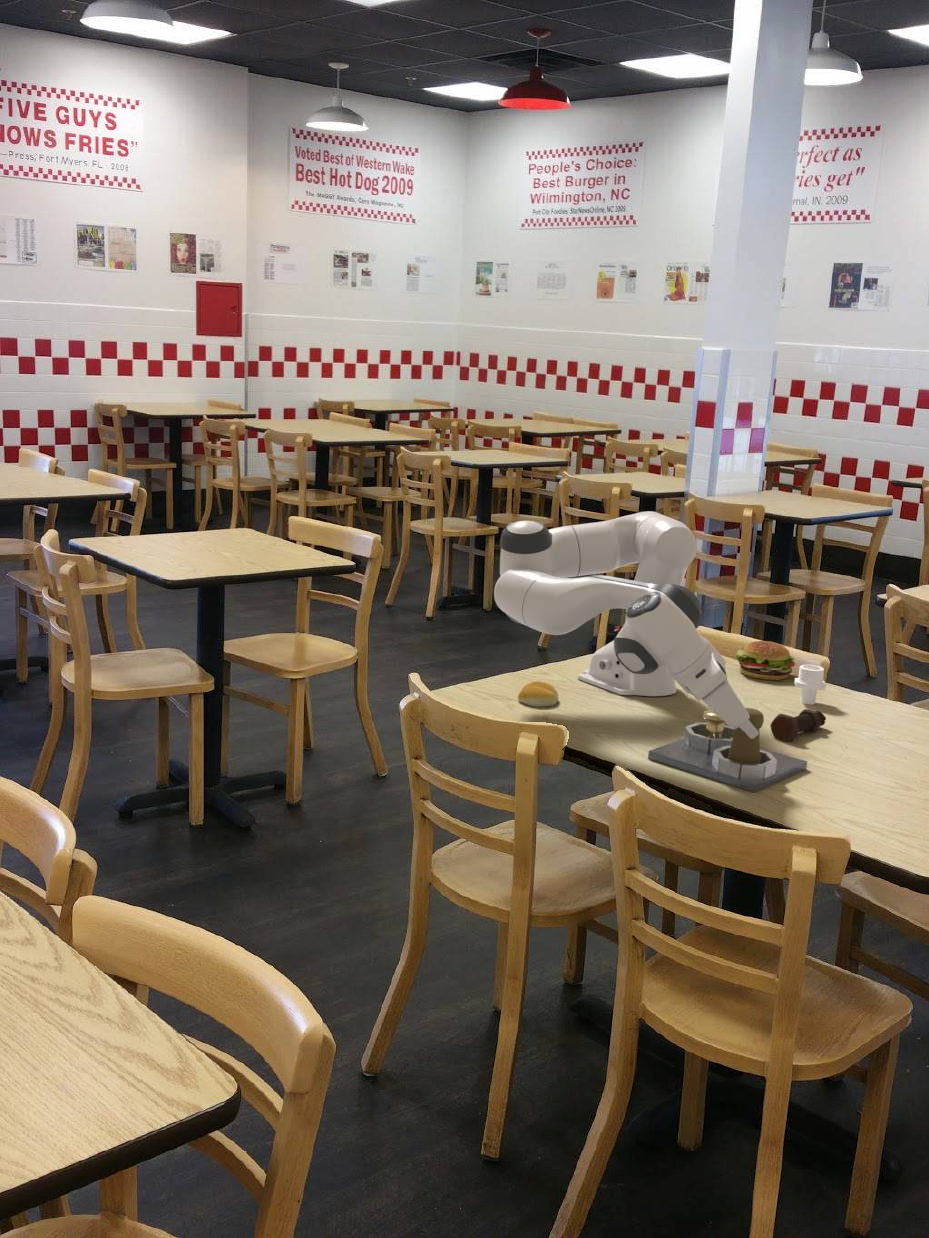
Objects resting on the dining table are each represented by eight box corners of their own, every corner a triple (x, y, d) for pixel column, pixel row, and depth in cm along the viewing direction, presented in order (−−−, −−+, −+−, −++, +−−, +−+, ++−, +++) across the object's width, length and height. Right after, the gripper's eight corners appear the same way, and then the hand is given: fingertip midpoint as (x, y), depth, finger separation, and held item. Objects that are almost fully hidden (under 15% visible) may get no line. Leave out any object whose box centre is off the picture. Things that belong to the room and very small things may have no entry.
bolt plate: (647, 758, 219) (651, 719, 217) (702, 738, 233) (706, 701, 231) (754, 792, 204) (759, 751, 203) (806, 769, 218) (811, 730, 217)
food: (747, 663, 295) (751, 632, 293) (801, 675, 286) (805, 643, 284) (721, 672, 284) (725, 640, 282) (776, 685, 276) (780, 652, 274)
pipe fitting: (830, 705, 261) (834, 670, 259) (802, 707, 258) (806, 671, 257) (812, 697, 267) (817, 663, 265) (785, 699, 264) (789, 664, 262)
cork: (740, 776, 208) (747, 716, 205) (718, 764, 213) (725, 705, 211) (767, 772, 211) (774, 713, 208) (745, 761, 216) (752, 703, 213)
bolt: (820, 736, 245) (783, 748, 234) (803, 719, 247) (765, 730, 237) (836, 716, 242) (799, 727, 231) (819, 699, 245) (781, 709, 234)
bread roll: (515, 705, 248) (516, 687, 247) (523, 694, 257) (524, 676, 256) (554, 710, 246) (555, 691, 245) (561, 698, 255) (562, 680, 254)
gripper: (678, 666, 219) (725, 720, 221) (694, 697, 199) (746, 756, 201) (704, 644, 218) (752, 699, 220) (723, 673, 198) (775, 733, 200)
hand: (749, 727), depth 210 cm, fingers open, 8 cm apart
